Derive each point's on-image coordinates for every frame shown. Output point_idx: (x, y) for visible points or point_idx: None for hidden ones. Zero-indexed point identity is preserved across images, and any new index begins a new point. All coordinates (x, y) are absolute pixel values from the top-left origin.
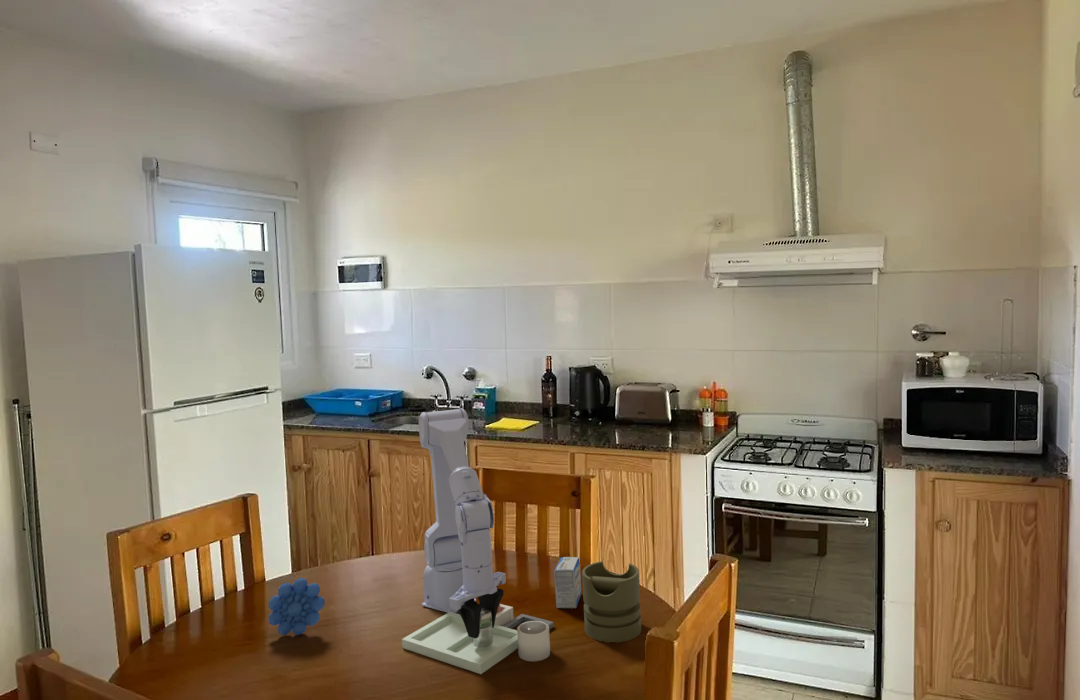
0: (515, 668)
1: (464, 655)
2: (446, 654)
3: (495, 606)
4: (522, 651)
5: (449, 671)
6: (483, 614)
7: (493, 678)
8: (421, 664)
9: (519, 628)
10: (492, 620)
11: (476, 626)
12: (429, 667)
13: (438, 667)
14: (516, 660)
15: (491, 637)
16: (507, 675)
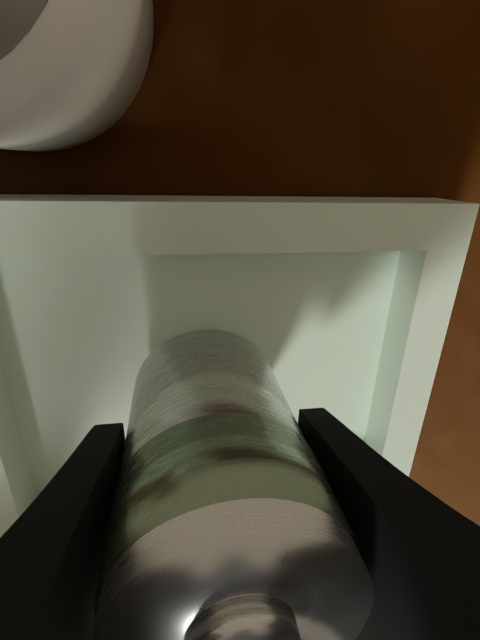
0: (289, 13)
1: (401, 369)
2: (410, 451)
3: (6, 636)
4: (146, 15)
5: (450, 361)
6: (273, 579)
7: (456, 87)
8: (430, 487)
9: (5, 68)
10: (106, 471)
11: (401, 472)
12: (443, 450)
13: (432, 422)
14: (189, 85)
15: (195, 354)
16: (395, 10)
